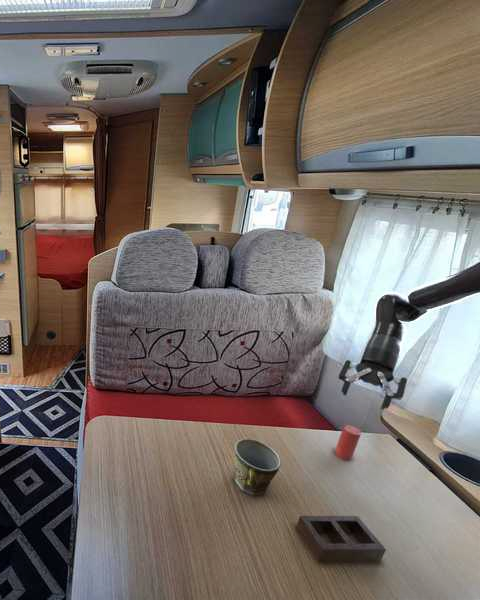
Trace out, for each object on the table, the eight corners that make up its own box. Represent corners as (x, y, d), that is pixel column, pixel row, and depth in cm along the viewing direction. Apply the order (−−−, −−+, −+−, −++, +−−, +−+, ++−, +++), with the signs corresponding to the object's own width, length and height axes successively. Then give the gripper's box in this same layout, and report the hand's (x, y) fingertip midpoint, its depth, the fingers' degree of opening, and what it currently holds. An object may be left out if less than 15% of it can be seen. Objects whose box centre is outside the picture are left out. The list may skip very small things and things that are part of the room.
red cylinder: (349, 453, 93) (359, 427, 90) (352, 462, 90) (362, 436, 87) (333, 448, 95) (342, 423, 92) (335, 457, 92) (345, 431, 89)
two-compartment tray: (352, 528, 73) (357, 515, 71) (379, 562, 66) (386, 549, 65) (295, 528, 73) (300, 515, 71) (317, 563, 66) (322, 549, 65)
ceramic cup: (232, 462, 90) (239, 432, 86) (273, 480, 84) (282, 449, 81) (221, 497, 79) (229, 466, 76) (268, 520, 74) (278, 487, 71)
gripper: (352, 339, 99) (333, 386, 96) (417, 357, 90) (399, 410, 86) (350, 349, 105) (332, 394, 101) (411, 367, 95) (394, 417, 91)
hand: (363, 401), depth 94 cm, fingers open, 8 cm apart
